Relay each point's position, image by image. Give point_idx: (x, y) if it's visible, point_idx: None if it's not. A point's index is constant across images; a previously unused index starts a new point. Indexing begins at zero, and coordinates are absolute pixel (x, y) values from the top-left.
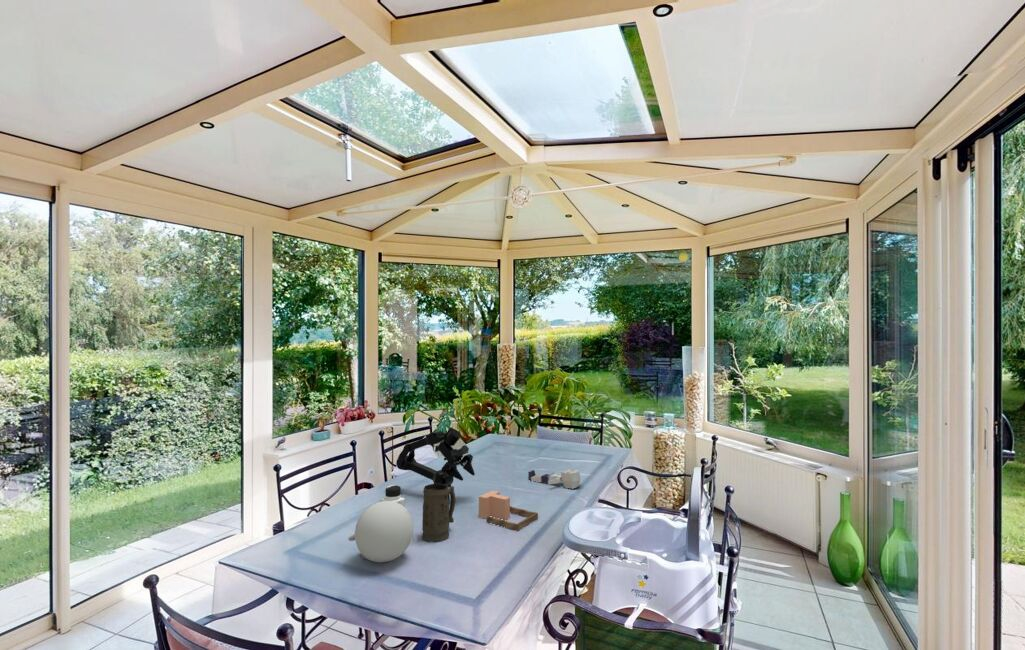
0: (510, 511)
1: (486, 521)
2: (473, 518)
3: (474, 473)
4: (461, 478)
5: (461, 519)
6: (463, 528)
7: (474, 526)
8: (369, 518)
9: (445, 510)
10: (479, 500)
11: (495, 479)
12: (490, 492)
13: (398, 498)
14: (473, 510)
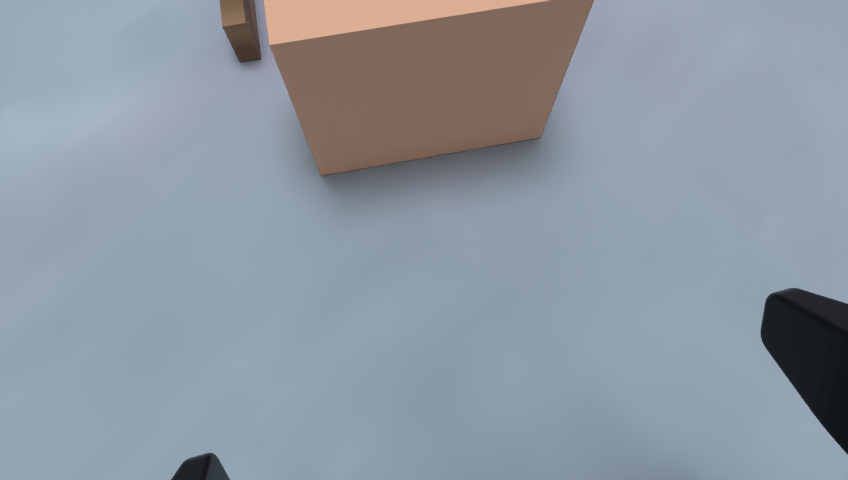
0: (253, 13)
1: None
2: (600, 145)
3: (186, 469)
4: (839, 317)
5: (709, 202)
6: (795, 45)
7: (694, 17)
8: None
9: None
10: (579, 21)
11: None
12: (359, 2)
13: None
14: (468, 305)
